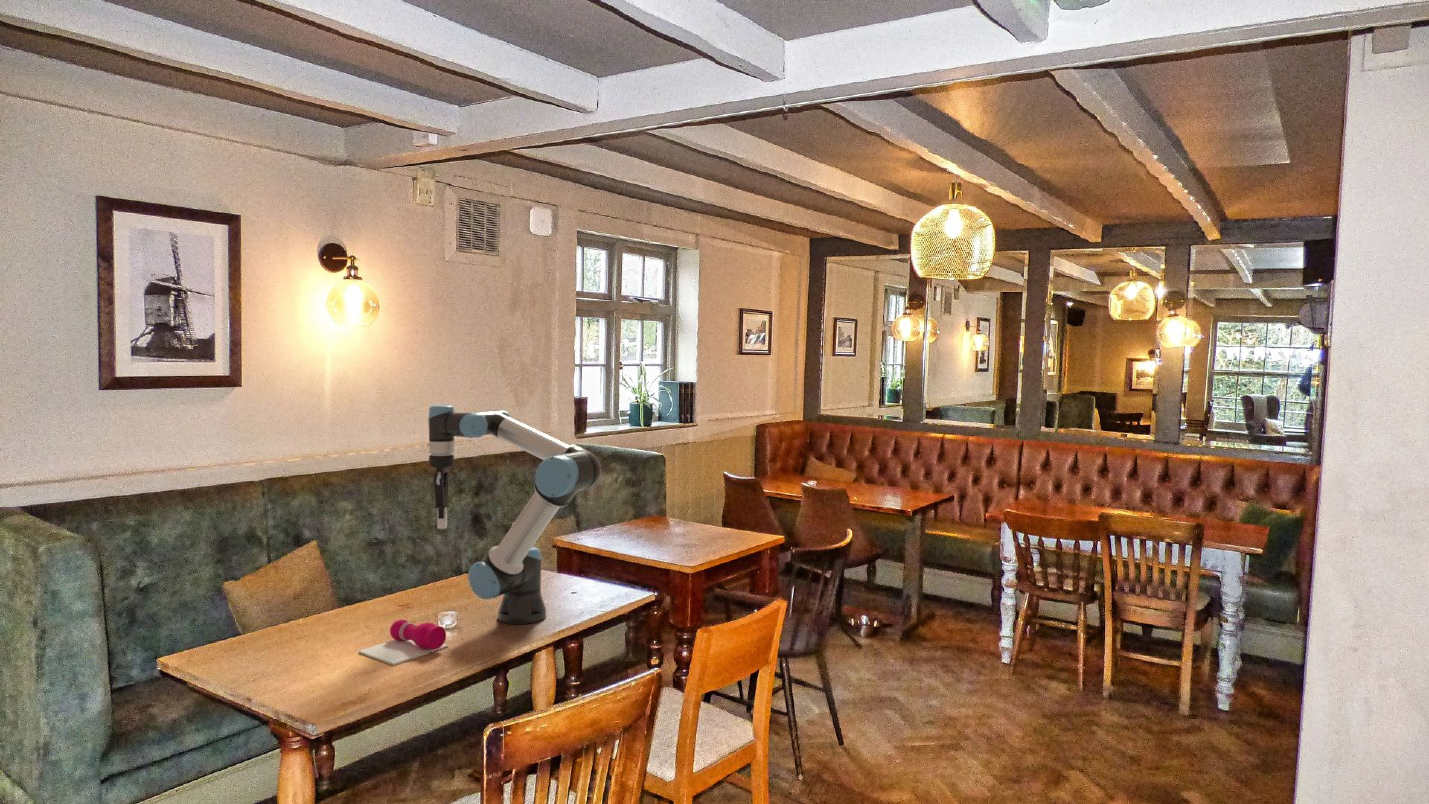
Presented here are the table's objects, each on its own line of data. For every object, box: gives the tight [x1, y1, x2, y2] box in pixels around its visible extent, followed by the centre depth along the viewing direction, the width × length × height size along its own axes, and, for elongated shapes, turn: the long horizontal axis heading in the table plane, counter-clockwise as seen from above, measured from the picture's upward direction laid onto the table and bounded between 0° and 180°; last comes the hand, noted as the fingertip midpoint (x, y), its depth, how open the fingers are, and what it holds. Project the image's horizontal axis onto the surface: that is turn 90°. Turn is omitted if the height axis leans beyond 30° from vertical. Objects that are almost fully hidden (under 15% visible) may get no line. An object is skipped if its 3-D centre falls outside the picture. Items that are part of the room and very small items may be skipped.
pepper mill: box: [389, 619, 447, 649], centre depth 248 cm, size 7×7×20 cm
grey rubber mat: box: [358, 639, 448, 666], centre depth 244 cm, size 16×18×1 cm
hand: (442, 528), depth 271 cm, fingers closed
